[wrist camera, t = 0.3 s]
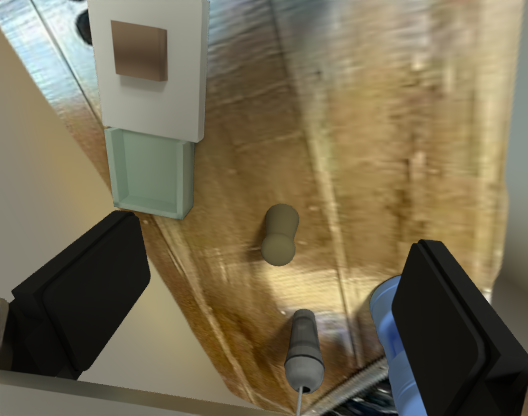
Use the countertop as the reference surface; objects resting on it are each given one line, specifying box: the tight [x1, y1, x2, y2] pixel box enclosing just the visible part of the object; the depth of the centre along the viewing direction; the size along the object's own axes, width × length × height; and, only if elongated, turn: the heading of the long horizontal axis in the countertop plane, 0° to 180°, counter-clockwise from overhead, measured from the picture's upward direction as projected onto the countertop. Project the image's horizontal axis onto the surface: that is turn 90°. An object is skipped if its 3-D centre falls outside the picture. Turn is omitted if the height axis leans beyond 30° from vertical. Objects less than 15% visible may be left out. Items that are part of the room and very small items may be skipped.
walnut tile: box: [111, 20, 168, 82], centre depth 36 cm, size 6×6×2 cm
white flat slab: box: [87, 0, 210, 143], centre depth 40 cm, size 18×15×3 cm
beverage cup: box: [284, 309, 325, 416], centre depth 52 cm, size 7×7×20 cm
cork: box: [261, 204, 299, 266], centre depth 45 cm, size 6×6×11 cm
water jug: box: [370, 275, 427, 416], centre depth 43 cm, size 16×16×28 cm
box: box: [104, 127, 195, 220], centre depth 46 cm, size 13×12×5 cm
